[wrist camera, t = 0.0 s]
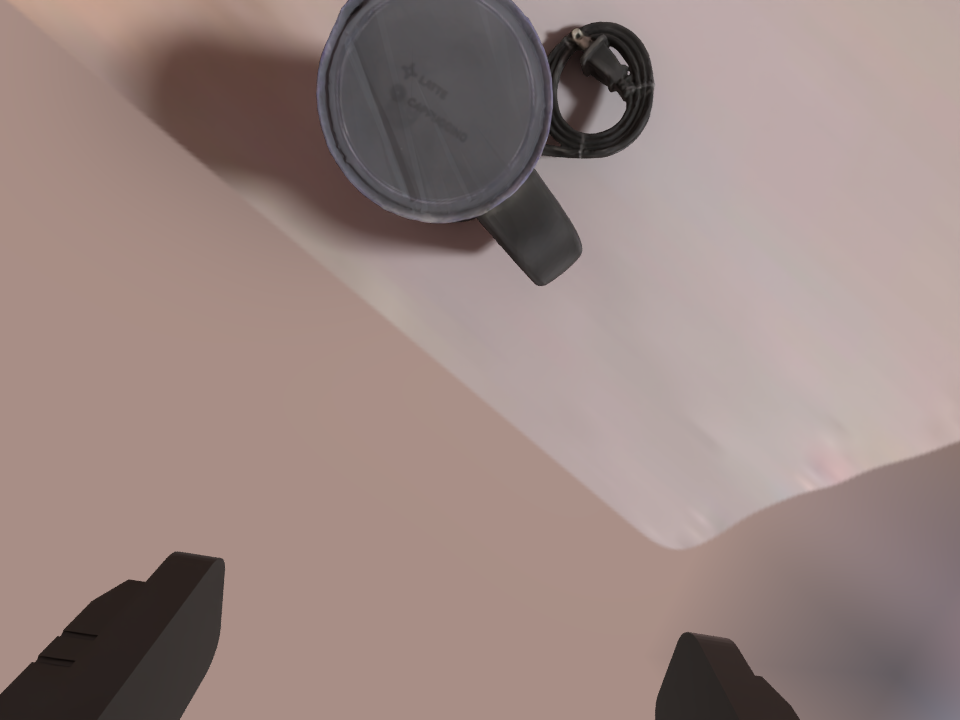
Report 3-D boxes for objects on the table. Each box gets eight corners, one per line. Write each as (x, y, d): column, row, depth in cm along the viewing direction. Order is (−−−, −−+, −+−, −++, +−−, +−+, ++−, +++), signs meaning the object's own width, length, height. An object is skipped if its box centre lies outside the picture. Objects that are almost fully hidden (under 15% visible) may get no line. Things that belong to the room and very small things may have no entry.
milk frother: (356, 172, 34) (273, 143, 20) (480, -65, 31) (486, -305, 17) (533, 284, 37) (571, 329, 22) (668, 75, 33) (816, -30, 19)
